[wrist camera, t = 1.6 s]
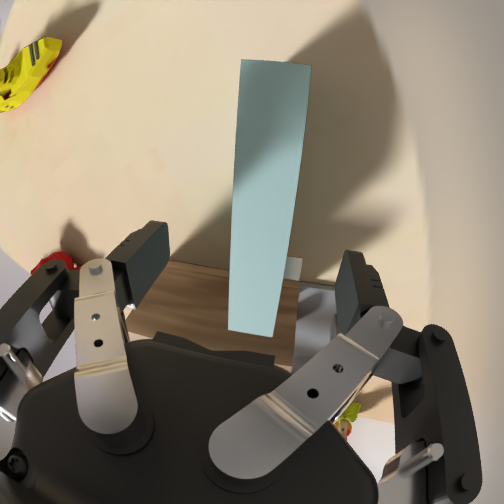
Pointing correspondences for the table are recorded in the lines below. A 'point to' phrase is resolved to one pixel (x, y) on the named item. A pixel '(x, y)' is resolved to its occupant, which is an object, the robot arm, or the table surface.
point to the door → (265, 189)
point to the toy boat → (27, 72)
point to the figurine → (58, 255)
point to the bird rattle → (347, 419)
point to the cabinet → (217, 308)
